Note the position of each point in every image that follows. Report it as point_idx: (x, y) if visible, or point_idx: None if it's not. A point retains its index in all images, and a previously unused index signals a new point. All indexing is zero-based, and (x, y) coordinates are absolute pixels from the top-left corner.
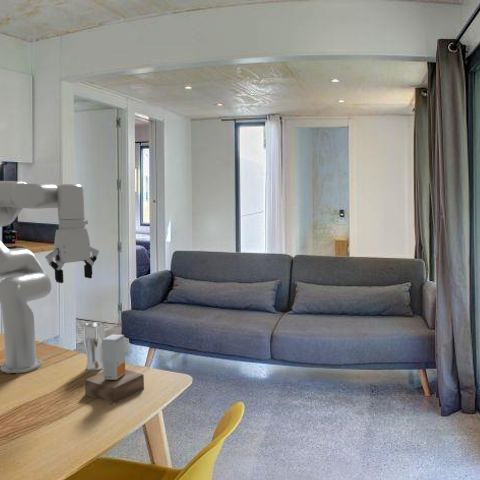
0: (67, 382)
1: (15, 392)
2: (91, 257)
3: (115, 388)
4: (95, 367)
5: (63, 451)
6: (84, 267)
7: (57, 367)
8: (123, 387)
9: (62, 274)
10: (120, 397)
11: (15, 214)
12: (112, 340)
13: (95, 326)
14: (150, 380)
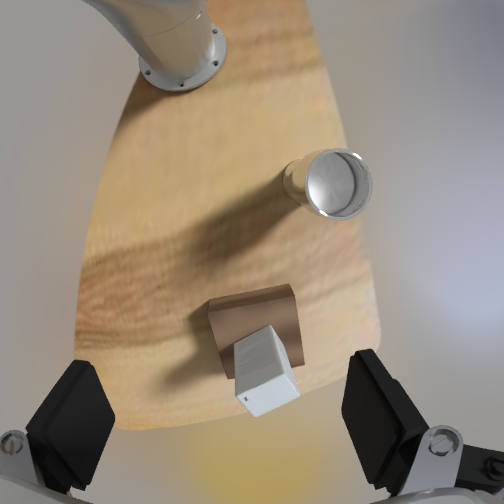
0: (212, 215)
1: (115, 188)
2: (480, 490)
3: (232, 377)
4: (294, 198)
5: (126, 406)
6: (386, 420)
7: (240, 109)
8: None
9: (92, 463)
10: None
11: None
12: (251, 413)
13: (353, 158)
14: (332, 327)
